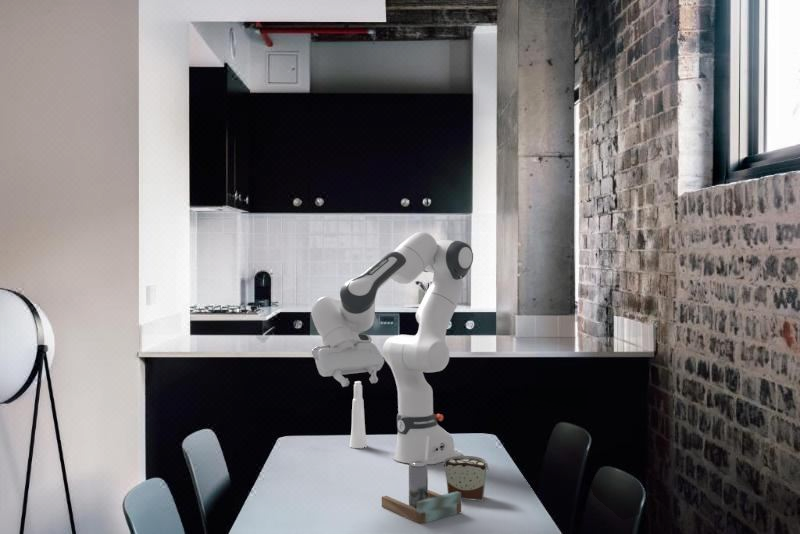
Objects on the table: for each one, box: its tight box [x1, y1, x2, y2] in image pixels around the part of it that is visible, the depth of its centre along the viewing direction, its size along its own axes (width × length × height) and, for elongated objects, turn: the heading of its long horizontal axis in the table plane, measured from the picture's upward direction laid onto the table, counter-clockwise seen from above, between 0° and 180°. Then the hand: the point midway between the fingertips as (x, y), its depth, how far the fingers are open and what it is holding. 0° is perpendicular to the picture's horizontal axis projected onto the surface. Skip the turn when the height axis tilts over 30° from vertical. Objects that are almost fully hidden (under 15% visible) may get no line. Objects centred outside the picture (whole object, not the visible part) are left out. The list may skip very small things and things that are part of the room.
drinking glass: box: [408, 461, 429, 508], centre depth 189 cm, size 5×5×12 cm
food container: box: [442, 455, 489, 501], centre depth 199 cm, size 12×6×10 cm, turn 71°
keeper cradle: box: [381, 489, 462, 525], centre depth 188 cm, size 13×16×5 cm
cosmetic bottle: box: [348, 380, 368, 449], centre depth 252 cm, size 6×6×22 cm
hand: (360, 383), depth 204 cm, fingers open, 8 cm apart
